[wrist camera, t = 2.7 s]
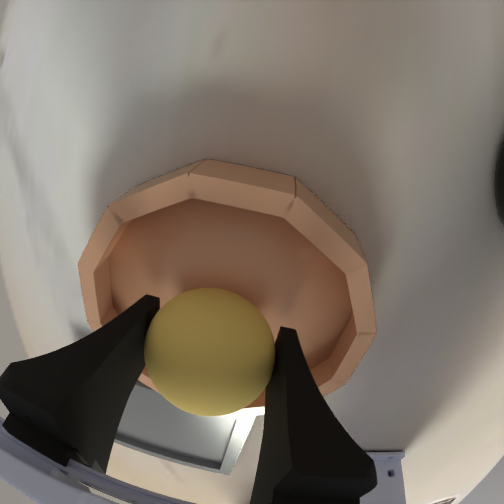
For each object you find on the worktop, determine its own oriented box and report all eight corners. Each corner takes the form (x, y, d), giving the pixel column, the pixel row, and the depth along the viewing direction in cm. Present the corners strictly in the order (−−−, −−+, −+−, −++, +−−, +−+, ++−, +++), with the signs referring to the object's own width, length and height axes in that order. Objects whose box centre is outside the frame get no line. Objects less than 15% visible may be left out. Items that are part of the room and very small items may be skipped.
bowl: (406, 207, 11) (426, 231, 9) (313, 399, 17) (313, 429, 15) (102, 143, 11) (71, 155, 9) (115, 352, 17) (100, 377, 16)
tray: (258, 397, 18) (256, 415, 16) (232, 462, 23) (229, 475, 22) (82, 346, 18) (72, 360, 17) (108, 426, 24) (103, 438, 22)
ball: (292, 278, 12) (288, 377, 8) (265, 360, 15) (253, 448, 10) (170, 251, 12) (114, 333, 8) (167, 336, 15) (131, 417, 10)
